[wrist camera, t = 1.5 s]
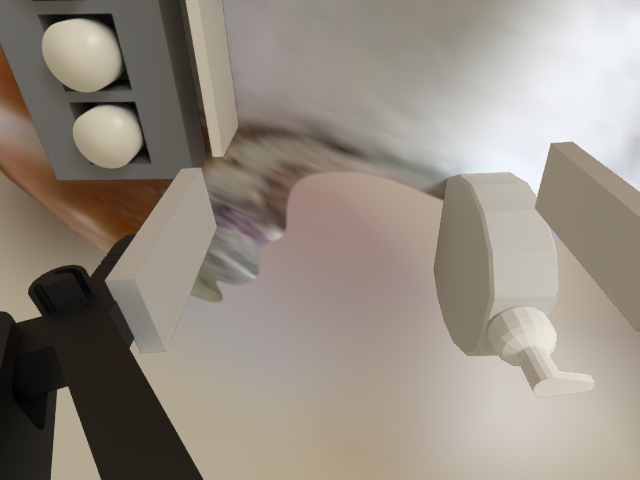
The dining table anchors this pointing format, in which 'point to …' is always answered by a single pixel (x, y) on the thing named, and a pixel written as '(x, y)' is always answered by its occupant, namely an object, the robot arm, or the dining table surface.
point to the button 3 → (83, 53)
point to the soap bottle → (501, 278)
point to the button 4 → (109, 134)
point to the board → (131, 88)
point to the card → (214, 71)
